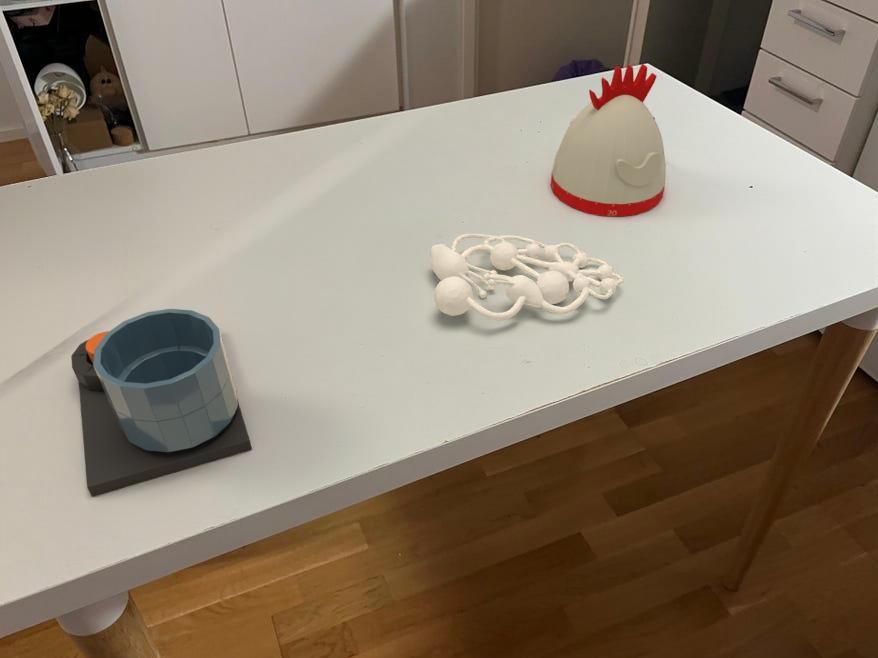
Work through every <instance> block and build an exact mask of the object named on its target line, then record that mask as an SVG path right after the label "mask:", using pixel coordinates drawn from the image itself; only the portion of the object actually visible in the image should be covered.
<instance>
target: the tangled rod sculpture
mask: <svg viewBox="0 0 878 658" xmlns="http://www.w3.org/2000/svg"><path fill="white" fill-rule="evenodd" d="M465 239H484V241H483V244H481V243H480V244H477V245H472V246H471V247H469V248H466V249H465V250H464V251H463V252H462V253H461V254H460V252H458V251H456V249H457V245H458V244H459V242H460V241H462V240H465ZM511 240H513V241H518V242H519V241H520V242H524V243H527V245H526V247H525V248H519V249H518V248H517V247H516V246H515V245H514V244H513V243H510V242H507V241H511ZM495 241H497V242H498V243H496V244H495V245H494V246H493V245H492V244H491V245H490V244H489V243H492V242H495ZM563 247H566V248H570V249H572V250H574V251H575V252H576V253H575V254H574V255H573V256H572V259H571V261H564V260H563V259H562V257H561V256H560V248H563ZM541 248H543V252H542V249H541ZM480 252H486V253H490V255H489V256H490V262H491V264H492V266H494V267H495V268H496V269H497V270H500V271H509V270H511V269H513V268H515V267H517V268H518V269H520V270H522V271H523V272H524V273H526V274H528V275H530V276H531V277H533V278H534V279H536V280H535V281H536V282H535V281H534V280H532V279H531V278H529V277H528V276H526V275H523V274H518V275H514V276H509V275H504V274H498V272H497V271H496V270H495V269H492V270H489V269H486V268H482V267H479V266H475V265H473V264H470V263H468V262H467V259H468V258H469V257H471V256H472V255H473V254H475V253H480ZM429 253H430V254H429V257H430V266H431V269H432V271H433V272H434V274H435V275H436V277H437V278H438V279H439V280H440V281H439V283H438V284H437V285H436V287H435V289H434V293H433V301H434V304H435V306H436V307H437V309H438V310H439V311H440V312H441V313H443V314H445V315H447V316H451V317H454V316H460V315H463V314H464V313H466V312H467V311H468V310H470V308H471V310H473V311H475V313H477V314H478V315H480V316H482V317H483V318H485V319H489V320H492V321H504V320H508V319H511V318H513V317H514V316H516V315H517V314H518V313H519V311H520V310H521V309H522V308H523V306H524V304H525V305H528V306H530V307H533V308H536V309H540V308H542V309H543V310H545V311H547V312H550V313H551V314H556V315H567V314H570V313H572V312H574V311H575V310H576V309H578V308H579V307H580V306H581V305H582V304H584V303H585V301H586V300H587V298H588V297H589V295H591V296H592V297H594V298H596V299H598V300H608V299H609V298H610V297H611V296H612V294H614V293H615V292H616V289H617V286H619V285H621V284H623V283H624V280H625V278H624V276H621V275H620V274H618V273H615V272H614V269H613V267H612V266H611V265H609V264H608V263H607V262H606V261H604V260H601V259H598V258H596V257H590V256H588V255H587V254H586V253H585V252H583V251H581V250H580V248H579V247H577V246H576V245H574V244H573V243H570V242H560V243H557V244H556V245H555V244H546V243H543V242H540V241H537V240H535V239H531V238H528V237H524V236H519V235H513V234H511V235H508V234H507V235H505V234H504V235H493V234H485V233H464V234H461V235H460V234H459V235H458V236H457V237H456V238H454V240H453V241H452V244H451V248H450V247H448V246H447V245H446V244H442V243H436V244H434V245H433V246H431V249H430V252H429ZM541 253H542V254H543V257H544V259H546V260H547V261H544V260H542V259H538V258H539V257H540V255H541ZM589 262H592V263H596V264H599V265H600V266H599V267H597V269H582V268H584V267H586V266H587V265H588V264H589ZM525 263H527V264H530V265H535V266H538V267H542V268H545V269H547V271H544V272H542V273H539V272H537V271H536V270H534V269H533V268H531V267H530V266H527V264H525ZM470 269H471V270H470ZM472 270H473V271H472ZM474 271H476V272H478V273H479V272H480V273H482V274H483V275H480V274H478V273H476V272H474ZM468 275H470V276H472V277H475V278H476V279H478V280H480V281H481V282H482V283H484V284H485V286H487V288H488V290H490V291H494V289H496V284H497V285H498V284H502V285H505V295H506V297H507V298H508V299H509V300H510V301H513V302H515V303H514V304H513V306H512V307H510V309H508V310H507V311H503V312H494V311H491V310H488V309H487V308H485V307H483V306H482V305H481V304H479V303H478V302H476V301H475V300H474V291H473V288H472V287H474V288H475V289H476V291H477V292H478V296H479V297H480V299H481V298H482V299H485V298H486V297H487V296H488V292H487V291H486V290H484V289H482V288H481V287H480V285H479V284H477V283H476V282H475V281H473V280H472V279H471V278H469V277H468ZM592 277H598V280H597V279H594V278H592ZM614 278H615V279H617V280H616V281H615V279H614ZM599 280H601V281H599ZM571 282H572V288H573V291H575V293H577V294H580V295H579V296H578V297H577V298H576V299H575V300H574V301H572V302H571V303H570V304H569V305H566V306H559V305H556V304H559V303H561V302H563V301H564V300H565V299H566V297H567V296H568V295H569V291H570V283H571ZM591 286H594V287H597V288H599V290H600V292H601V293H602V294H599V293H597V292H595V291H594V290H593V289H591V288H590V287H591Z"/></svg>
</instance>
